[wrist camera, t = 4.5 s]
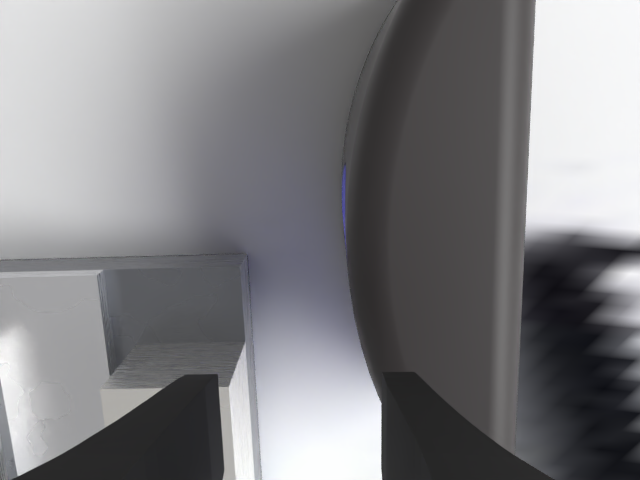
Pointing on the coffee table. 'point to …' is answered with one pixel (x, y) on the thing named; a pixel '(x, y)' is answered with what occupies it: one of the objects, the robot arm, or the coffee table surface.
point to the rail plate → (121, 349)
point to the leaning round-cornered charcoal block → (443, 201)
